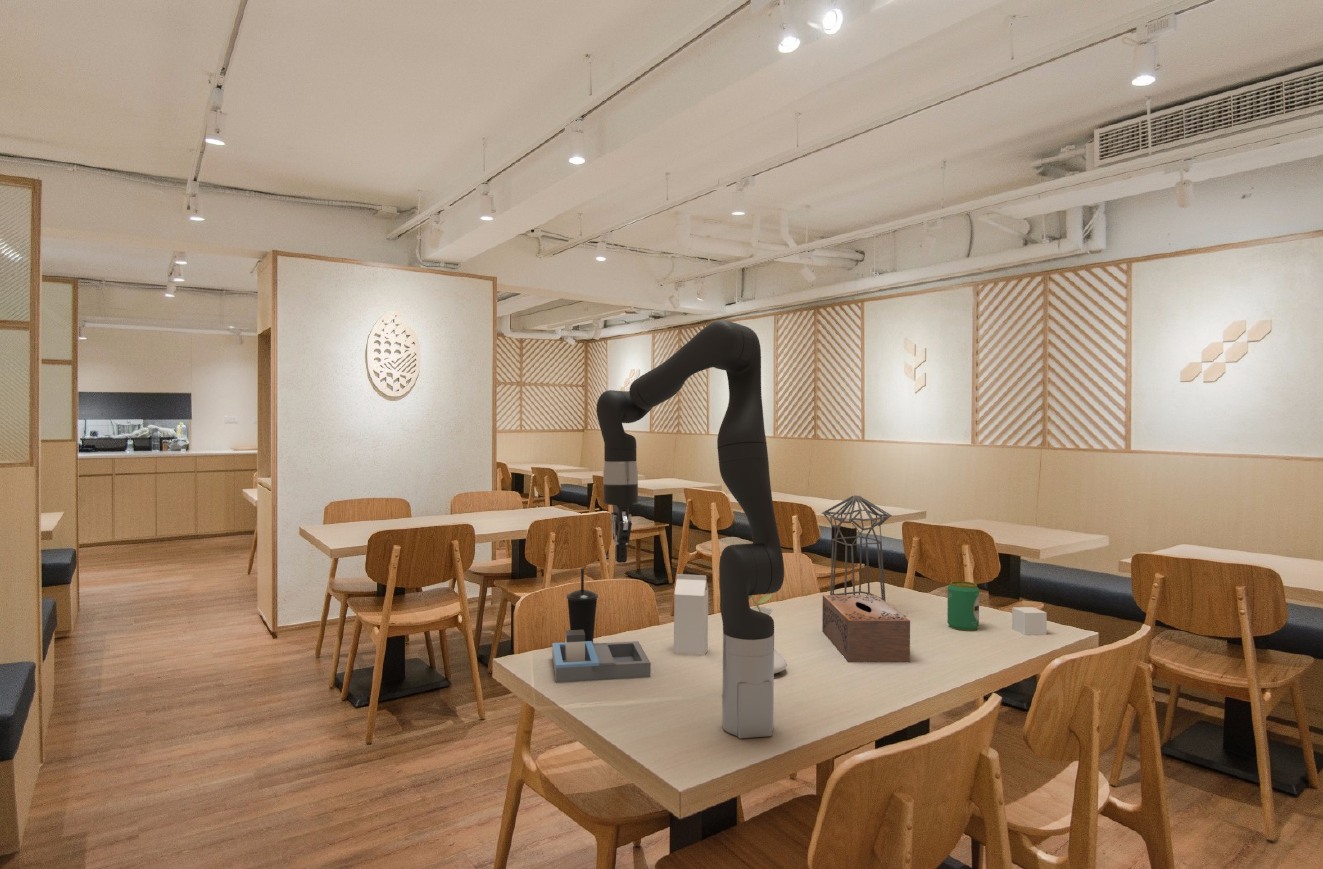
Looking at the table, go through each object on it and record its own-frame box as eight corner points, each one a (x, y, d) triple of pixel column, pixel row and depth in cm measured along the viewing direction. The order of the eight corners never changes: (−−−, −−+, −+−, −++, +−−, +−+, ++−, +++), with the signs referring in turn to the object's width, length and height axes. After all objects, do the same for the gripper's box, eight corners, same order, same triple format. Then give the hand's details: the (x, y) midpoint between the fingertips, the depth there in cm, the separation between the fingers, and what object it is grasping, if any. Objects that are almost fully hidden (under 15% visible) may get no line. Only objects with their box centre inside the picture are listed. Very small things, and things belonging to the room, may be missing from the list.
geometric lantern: (895, 619, 209) (895, 497, 208) (846, 624, 205) (845, 499, 204) (866, 605, 224) (865, 491, 223) (819, 609, 220) (818, 493, 219)
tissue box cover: (909, 663, 170) (910, 620, 170) (848, 663, 170) (848, 620, 170) (876, 632, 196) (876, 595, 196) (822, 632, 196) (822, 595, 196)
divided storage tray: (650, 681, 157) (650, 659, 156) (556, 687, 153) (556, 665, 153) (638, 658, 172) (638, 638, 172) (552, 662, 168) (552, 642, 168)
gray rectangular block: (584, 671, 160) (585, 634, 160) (566, 672, 159) (566, 635, 159) (583, 665, 164) (583, 629, 164) (565, 666, 163) (565, 630, 163)
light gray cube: (1032, 628, 200) (1033, 607, 200) (1046, 635, 194) (1046, 612, 194) (1011, 629, 200) (1012, 607, 199) (1024, 635, 194) (1025, 612, 193)
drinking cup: (559, 653, 176) (560, 570, 176) (577, 644, 182) (578, 564, 182) (586, 658, 172) (586, 573, 172) (603, 649, 179) (604, 567, 179)
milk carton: (703, 659, 172) (704, 578, 171) (673, 657, 173) (674, 577, 173) (707, 650, 179) (708, 572, 178) (679, 648, 180) (679, 571, 180)
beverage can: (976, 633, 195) (976, 588, 195) (944, 628, 200) (945, 584, 199) (980, 626, 202) (981, 582, 202) (950, 622, 206) (950, 579, 206)
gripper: (643, 483, 154) (644, 566, 154) (631, 480, 167) (632, 557, 167) (608, 483, 152) (608, 567, 152) (599, 481, 165) (599, 558, 165)
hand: (621, 561), depth 159 cm, fingers closed
